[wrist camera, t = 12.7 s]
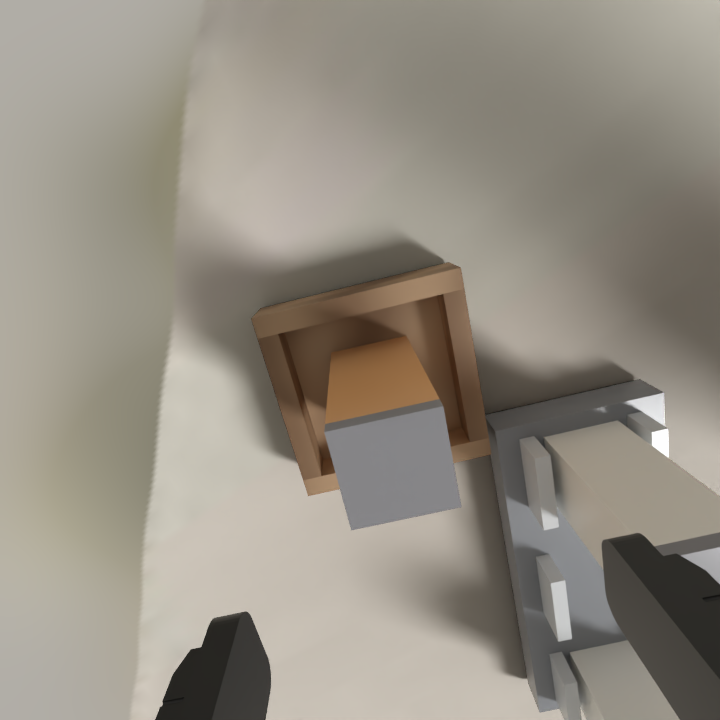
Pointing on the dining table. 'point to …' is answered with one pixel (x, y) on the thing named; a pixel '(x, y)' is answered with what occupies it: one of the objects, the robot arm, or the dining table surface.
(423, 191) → the dining table surface
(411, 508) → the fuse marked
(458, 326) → the tray
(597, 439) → the fuse block
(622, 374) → the dining table surface
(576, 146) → the dining table surface
